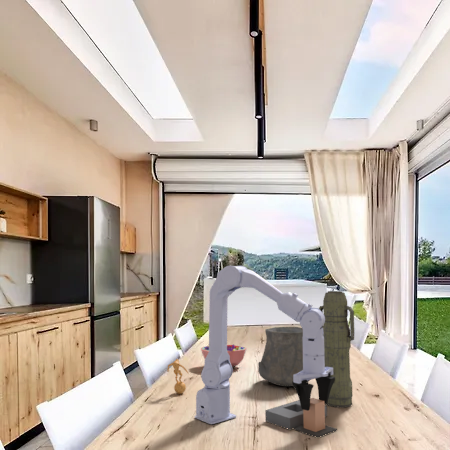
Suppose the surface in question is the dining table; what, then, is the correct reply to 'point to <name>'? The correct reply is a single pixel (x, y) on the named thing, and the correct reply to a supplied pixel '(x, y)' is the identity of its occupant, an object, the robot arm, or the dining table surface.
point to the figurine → (179, 386)
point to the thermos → (338, 346)
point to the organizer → (287, 415)
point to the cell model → (230, 353)
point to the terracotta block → (315, 415)
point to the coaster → (318, 433)
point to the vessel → (282, 355)
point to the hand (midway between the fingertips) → (314, 406)
